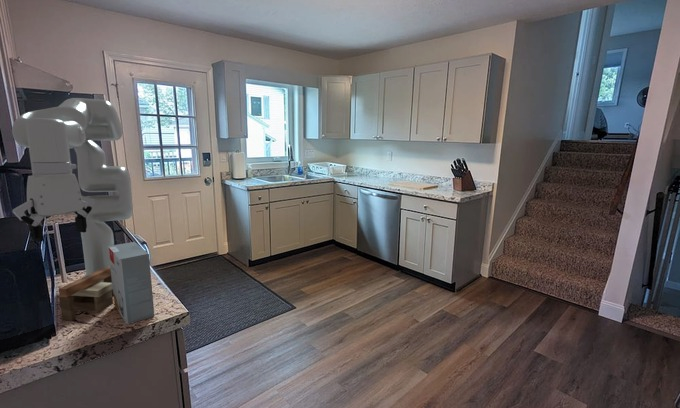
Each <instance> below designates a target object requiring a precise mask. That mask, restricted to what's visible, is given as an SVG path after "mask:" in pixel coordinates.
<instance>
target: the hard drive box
mask: <svg viewBox="0 0 680 408" xmlns="http://www.w3.org/2000/svg"><path fill="white" fill-rule="evenodd" d="M108 252H109V260H110V269H111V278H112V287H113V295H114V296H113V304H114V307H115V309H116V310H117V312H119V313H118V314H120V316H121V318H122V320H123V321H124V322H125V324H126V325H130V324H133V322H134V323H136V322H140V321H143V320H147V319H149V318H152V317H154V316H155V307H154V305H155V304H154V296H153V284H152V273H151V264H150V263H151V262H150V254H149V252H147V251H146V250H145V249H143V248H142V246H140V245H139V244H138V243H136V242H135V241H131V242H126V243H119V244H114V245H113V246H108Z"/></svg>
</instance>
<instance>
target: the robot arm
mask: <svg viewBox="0 0 680 408" xmlns="http://www.w3.org/2000/svg"><path fill="white" fill-rule="evenodd" d="M11 133H12V137H13V139H14V141H15V142H16V143H17V144H18V145H19V146H21V147H23V148H26V149H27V148H28V151H29V159H30V165H31V166H30V167H31V173H32V175H28V176H27V180H26V181H27V182H26V201H25V202H24V203H22V204H20V205H18V206H16V207H15V208H13V209H12V213H13V214H14V215H15V217H16V218H18V220H19V221H20V222H22V223H24V224H26V225H27V226H29V235H30V238H31V239H32V240H33V241H35V242H37V243H38V242H39V243H41V242H44V241H45V239H44V233H43V225H40V223H41V222H42V220H43V219H44V218H46V217H54V216H60V215H67V214H71V213H73V214H74V215H75V218H74V222H75V223H74V224H75V231H76V232H80V237H81V242H82V252H83V259H84V261H83V262H84V268H85V269H84V270H85V275H84V276H82V277H81V278H83V277H85V276H87V275H90V274H92V273H94V272H96V271H98V270H100V269H103V268H105V267H110V260H109V252H108V246H113V245H115V239H114V232H113V229H112V228H111V227H110V226H109V225H108V224H107V223H106V222H111V221H114V222H115V221H125V220H129V219H131V217H132V216H133V213H134V212H133V211H134V208H133V207H134V206H133V205H134V204H133V191H132V180H131V174H130V172H129V170H128V169H127V168H126V167H125V166H120V165H114V166H113V165H111V166H110V165H107V159H106V158H107V157H106V153H105V151H104V150H103V149H102V148H101V146H100V145H98V144H97V143H96V142H95V141H100V142H101V141H102V142H103V141H104V142H105V141H106V142H107V141H110V142H111V141H112V142H114V141H118V140H120V139H122V136H123V127H122V123H121V121H120V117H119V115H118V113H117V110H116V108H115V106H114V105H113V104H112V103H111V102H110V101H109V100H106V99H98V98H83V97H71V98H67V99H66V100H64V101H63V102H62V103H60V104H59V105H58V106H55V107H54V106H53V107H49V108H42V109H37V110H31V111H27V112H24V113H23V114H21V115H19V116H18V117H17V118H16V119H15V121H14V122H13V123H12V129H11ZM70 149H74V152H75V154H76V163H77V164H76V163H72V160H71V152H70ZM76 169H77V176H76V174H75V173H73V171H74V170H76ZM81 190H82V192H86V193H87V192H88V193H103V192H104V193H105V192H106V193H107V192H108V193H109V192H111V193H113V192H114V193H117V194H111V195H110V194H109V195H106V194H103V195H101V194H100V195H88V196H85V195H82V193H81ZM26 211H27V212H28V214H29V215H30V216H27V215H26V213H25V212H26ZM99 282H104V279H103V280H101V281H99Z"/></svg>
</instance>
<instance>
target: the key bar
mask: <svg viewBox="0 0 680 408" xmlns="http://www.w3.org/2000/svg"><path fill="white" fill-rule="evenodd" d="M84 276H85V275H84ZM109 276H111V269H110V267H105V268H103V269H100V270H98V271H96V272H94V273H92V274H90V275H87V276H85V277H83V276H82V277H83V278H82V277H81V278H79V279H76V280H75V281H72V282H70V283H68V284H66V285H64V286H61V287H60V288H58V295H59V297H69V296H71V295H73V294H75V293H77V292H79V291H81V290H83V289H85V288H87V287H89V286H91V285H93V284H95V283H97V282H99V281H101V280H103V279H105V278H107V277H109Z"/></svg>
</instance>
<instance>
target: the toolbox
mask: <svg viewBox="0 0 680 408" xmlns="http://www.w3.org/2000/svg"><path fill="white" fill-rule="evenodd" d="M104 282H107V283H112V278H111V276H109V277H107V278H105V279H104ZM113 297H114V295H113V289H112V290H110V291H109V292H107V293H105V294H103V295H101V296H100V297H89V296H72V295H71V296H69V297H60V296H59V297H58V298H59V306H60V313H61V321H66V322H73V321H74V320H76V313H75V312H85V313H86V312H88V313H100V312H101V311H103V310H104V309H106V308H107V307H109V306H111V305H113V304H114V298H113Z"/></svg>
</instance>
